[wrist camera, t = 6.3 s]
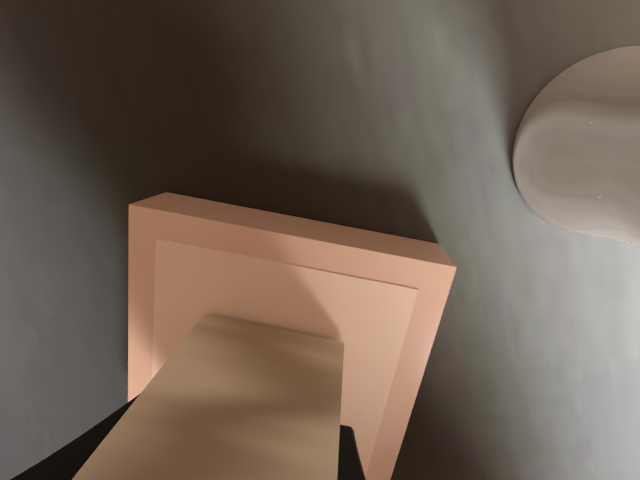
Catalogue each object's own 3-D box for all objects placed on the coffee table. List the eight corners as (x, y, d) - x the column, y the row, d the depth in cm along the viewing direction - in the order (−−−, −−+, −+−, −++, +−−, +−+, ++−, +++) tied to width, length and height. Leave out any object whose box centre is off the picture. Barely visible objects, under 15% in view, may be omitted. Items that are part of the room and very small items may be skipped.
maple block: (344, 342, 12) (332, 565, 6) (320, 449, 14) (291, 711, 8) (203, 313, 12) (54, 501, 6) (196, 422, 14) (71, 657, 8)
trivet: (438, 243, 14) (457, 268, 11) (377, 455, 17) (381, 509, 15) (166, 192, 14) (127, 204, 12) (158, 409, 17) (127, 453, 15)
